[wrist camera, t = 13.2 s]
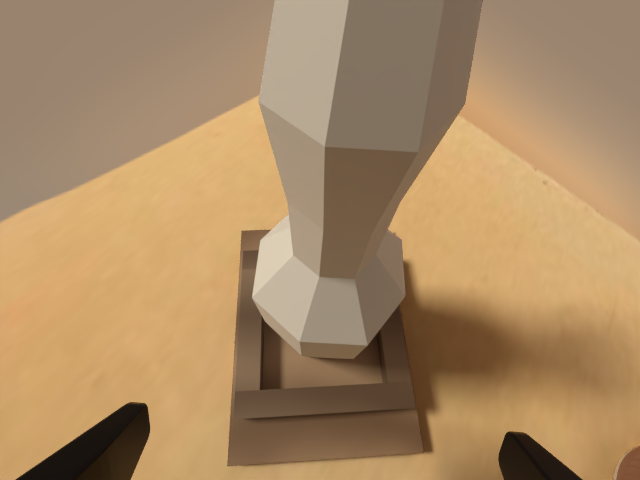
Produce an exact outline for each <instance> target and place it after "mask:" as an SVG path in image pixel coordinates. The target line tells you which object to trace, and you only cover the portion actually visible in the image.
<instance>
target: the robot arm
mask: <svg viewBox="0 0 640 480" xmlns="http://www.w3.org/2000/svg"><path fill="white" fill-rule="evenodd" d="M149 433H150V422H149V414H148V407H147V405H146V404H145V403H137V402H130V403H127V404H125V405H124V406H122V407H121V408H120V409H118V410H117V411H115V412H114V413H112V414H111V415H109V416H108V417H106V418H105V419H103V420H102V421H101V422H99V423H98V424H96V425H95V426H93V427H92V428H90V429H89V430H87V431H86V432H84V433H83V434H81V435H80V436H79V437H77V438H76V439H74V440H73V441H71V442H70V443H68V444H67V445H65V446H64V447H62V448H61V449H60V450H58V451H57V452H55V453H54V454H52V455H51V456H49V457H48V458H46V459H45V460H43V461H42V462H41V463H39V464H38V465H36V466H35V467H33V468H32V469H30V470H29V471H27V472H26V473H24V474H23V475H22V476H20V477H19V478H17V479H16V480H131V477H132V475H133V473H134V470H135V468H136V466H137V463H138V461H139V459H140V456H141V454H142V452H143V449H144V447H145V444H146V442H147V440H148V437H149ZM498 459H499V466H500V469H501V472H502V475H503V478H504V480H582V479H581V478H580V477H579V476H577V475H576V474H575V473H574V472H573V471H571V470H570V469H569V468H568V467H567V466H565V465H564V464H563V463H562V462H560V461H559V460H558V459H557V458H556V457H554V456H553V455H552V454H551V453H549V452H548V451H547V450H546V449H545V448H543V447H542V446H541V445H540V444H538V443H537V442H536V441H535V440H534V439H532V438H531V437H530V436H529V435H527V434H526V433H523V432H511V431H510V432H507V433H506V435H505V437H504V440H503V443H502V446H501V449H500V452H499V458H498Z"/></svg>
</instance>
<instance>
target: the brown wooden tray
mask: <svg viewBox="0 0 640 480" xmlns="http://www.w3.org/2000/svg"><path fill="white" fill-rule="evenodd" d="M270 231H271V230H251V231H242V235H241V252H240V268H239V284H238V301H237V317H236V333H235V350H234V366H233V383H232V399H231V415H230V432H229V448H228V464H227V466H237V465H252V464H266V463H281V462H295V461H309V460H324V459H338V458H352V457H367V456H381V455H396V454H410V453H424V451H423V445H422V439H421V433H420V427H419V421H418V414H417V408H416V402H415V396H414V390H413V384H412V378H411V372H410V366H409V360H408V354H407V348H406V342H405V336H404V330H403V324H402V318H401V312H400V306H399V305H398V307H397V308H396V309H395V311H394V312H393V313H392V314H391V316H390V317H389V318H388V320H387V321H386V322H385V324H384V325H383V326H382V327H381V329H380V330H379V331H378V333H377V334H376V335H375V337H374V338H373V339H372V340H371V342H370V343H369V344H368V346H367V347H366V348H364V349H363V350H362V351H361V352H360V353H359V354H358V355H357V356H356V357H355V358H354V359H340V358H319V357H305V356H301V355H300V354H299V353H298V352H297V351H296V350H295V349H294V348H293V347H292V346H290V345H289V344H288V343H287V342H286V341H285V340H284V339H283V338H282V337H281V336H280V335H279V334H278V333H277V332H276V331H275V330H273V329H272V328H271V327H270V326H269V325H268V324H267V323H266V322H265V321H264V319H263V317H262V315H261V313H260V312H259V310H258V308H257V306H256V304H255V302H254V301H253V299H252V294H253V287H254V280H255V274H256V267H257V260H258V253H259V246H260V240H261V239H262V238H263V237H264V236H265V235H267V234H268V233H269V232H270Z"/></svg>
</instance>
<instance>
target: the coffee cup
mask: <svg viewBox="0 0 640 480" xmlns="http://www.w3.org/2000/svg"><path fill="white" fill-rule="evenodd" d="M613 480H640V446H639V447H635V448H632V449H631V450H629V451H627V452H626V453H625V454H624V455H623V456H622V457H621V458H620V460H619V462H618V464H617V466H616V468H615V472H614V477H613Z"/></svg>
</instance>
